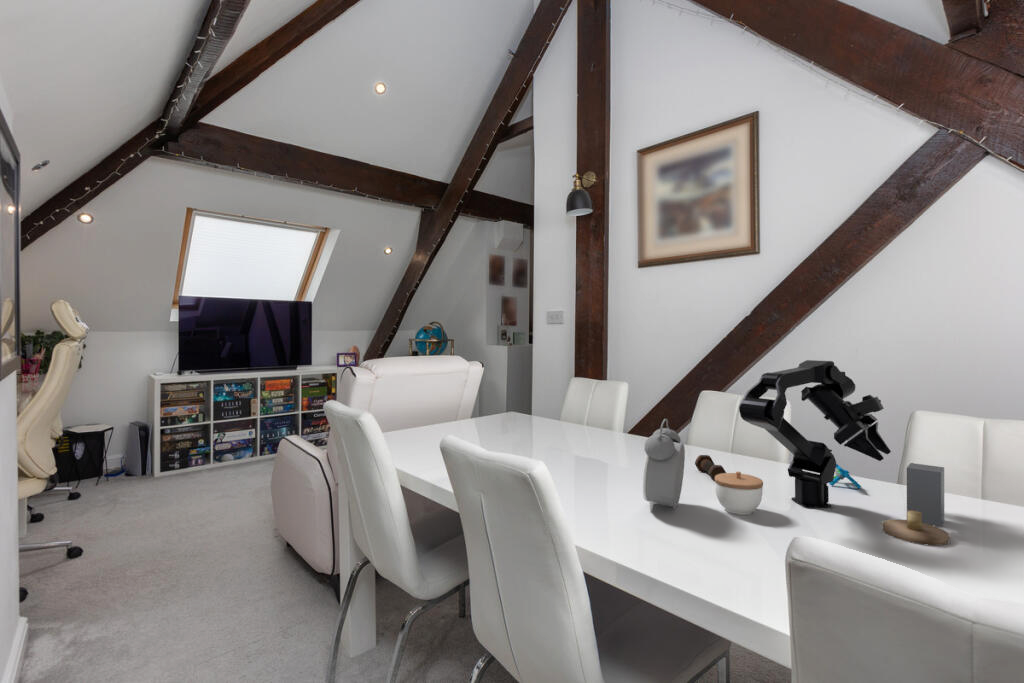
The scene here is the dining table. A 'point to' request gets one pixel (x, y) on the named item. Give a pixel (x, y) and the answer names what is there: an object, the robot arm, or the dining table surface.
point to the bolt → (708, 466)
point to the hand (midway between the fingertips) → (885, 456)
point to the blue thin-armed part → (843, 476)
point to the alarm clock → (663, 467)
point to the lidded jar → (738, 492)
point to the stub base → (915, 530)
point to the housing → (926, 492)
